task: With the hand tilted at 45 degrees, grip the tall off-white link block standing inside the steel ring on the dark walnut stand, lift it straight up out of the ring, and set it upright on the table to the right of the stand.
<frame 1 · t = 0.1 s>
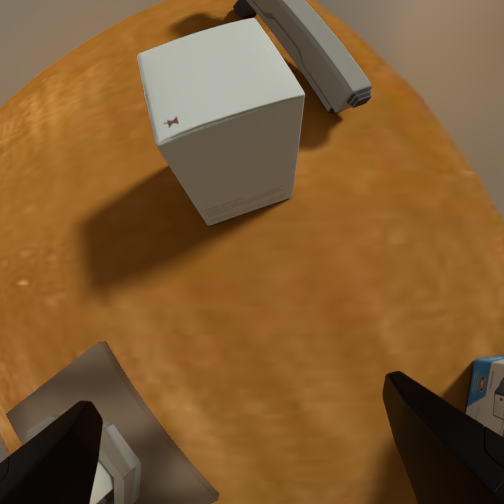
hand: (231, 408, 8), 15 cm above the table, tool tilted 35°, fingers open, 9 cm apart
link block: (91, 460, 20), point 1 cm above the table, touching ring stand
ring stand: (97, 456, 21), on the table
supplement box: (237, 175, 26), on the table
ink box: (484, 401, 20), on the table
gun: (283, 50, 29), on the table
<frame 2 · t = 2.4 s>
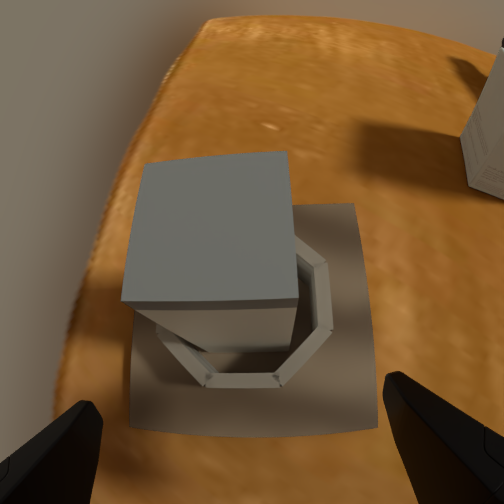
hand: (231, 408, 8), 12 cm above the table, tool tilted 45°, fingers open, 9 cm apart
link block: (248, 314, 20), point 1 cm above the table, touching ring stand
ring stand: (250, 318, 21), on the table
supplement box: (489, 171, 25), on the table
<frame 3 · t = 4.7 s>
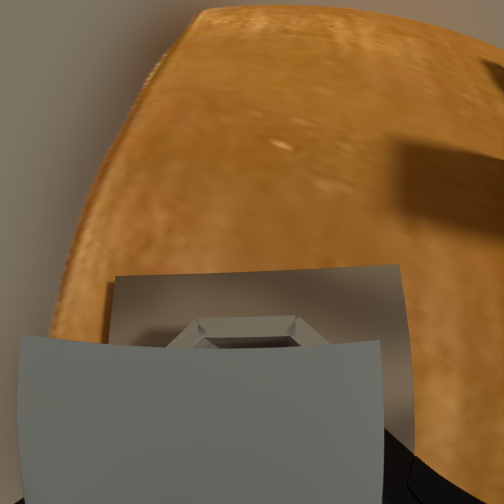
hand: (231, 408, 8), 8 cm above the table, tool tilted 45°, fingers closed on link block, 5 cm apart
link block: (254, 427, 13), point 1 cm above the table, touching gripper, ring stand
ring stand: (256, 424, 15), on the table
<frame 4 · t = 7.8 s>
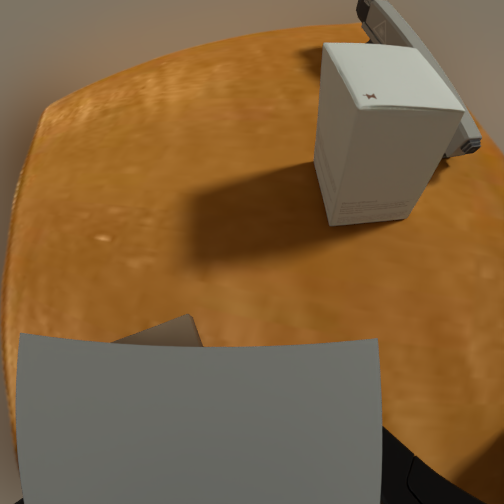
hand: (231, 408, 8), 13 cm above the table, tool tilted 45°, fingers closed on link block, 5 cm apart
link block: (254, 427, 13), point 7 cm above the table, touching gripper
ring stand: (133, 445, 19), on the table
supplement box: (359, 189, 27), on the table
gun: (400, 97, 32), on the table
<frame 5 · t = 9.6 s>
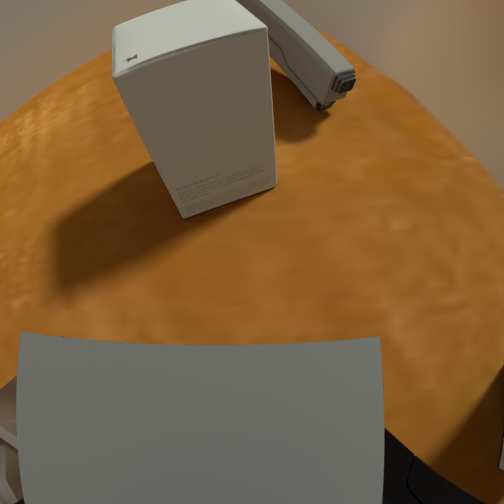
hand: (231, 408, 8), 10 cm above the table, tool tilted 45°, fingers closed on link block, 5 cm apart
link block: (254, 426, 13), point 3 cm above the table, touching gripper
ring stand: (49, 483, 15), on the table
supplement box: (217, 169, 24), on the table
gun: (269, 61, 30), on the table
when the fingers open (7 cm above the table, at t = 10.9 s): link block drops 1 cm, on the table.
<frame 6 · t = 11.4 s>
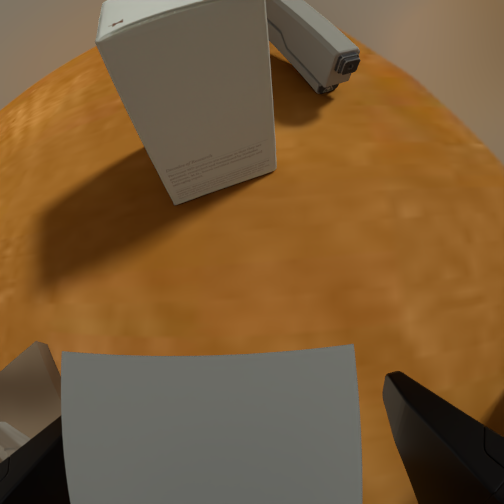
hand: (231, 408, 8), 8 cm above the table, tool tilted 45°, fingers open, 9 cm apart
link block: (256, 423, 15), on the table
ring stand: (32, 489, 13), on the table
supplement box: (212, 153, 22), on the table
gun: (268, 48, 28), on the table
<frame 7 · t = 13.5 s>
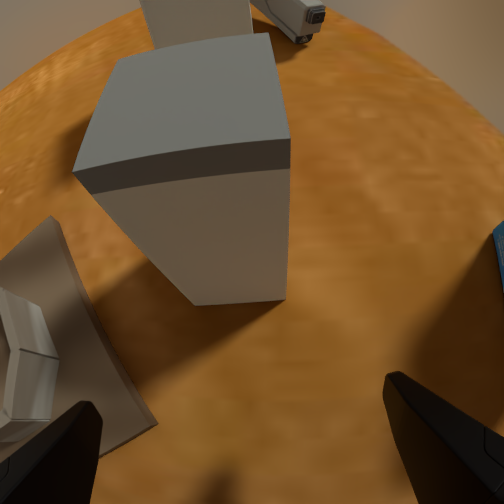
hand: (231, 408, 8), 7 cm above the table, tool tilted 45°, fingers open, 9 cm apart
link block: (237, 260, 18), on the table
ring stand: (18, 368, 16), on the table
supplement box: (209, 82, 26), on the table
gun: (257, 16, 32), on the table
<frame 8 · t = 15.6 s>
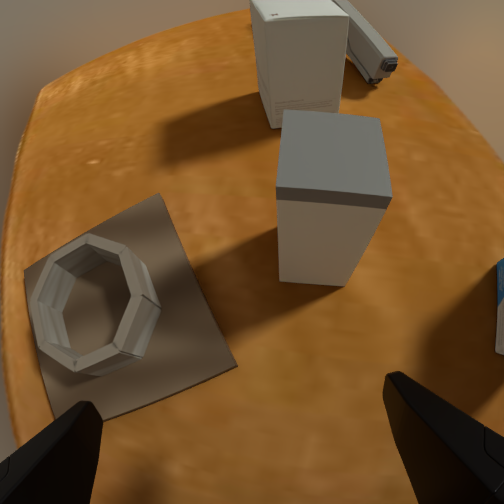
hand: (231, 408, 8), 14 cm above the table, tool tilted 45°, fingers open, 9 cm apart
link block: (314, 253, 25), on the table
ring stand: (109, 315, 24), on the table
supplement box: (296, 105, 32), on the table
gun: (336, 48, 38), on the table
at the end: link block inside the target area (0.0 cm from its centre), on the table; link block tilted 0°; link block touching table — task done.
